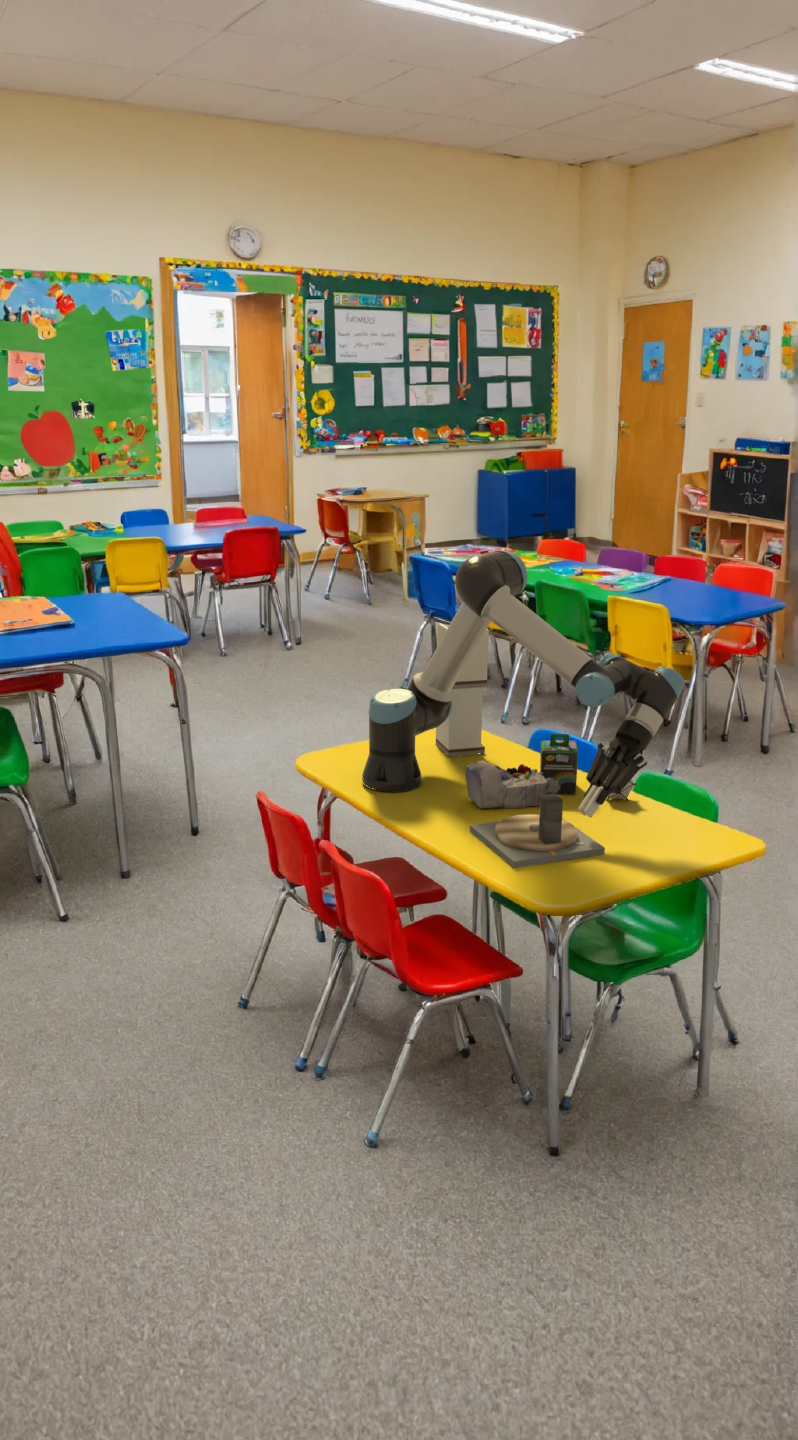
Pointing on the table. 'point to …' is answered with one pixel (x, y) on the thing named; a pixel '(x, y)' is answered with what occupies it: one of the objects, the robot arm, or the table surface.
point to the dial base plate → (525, 857)
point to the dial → (538, 828)
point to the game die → (622, 791)
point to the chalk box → (559, 764)
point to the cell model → (504, 785)
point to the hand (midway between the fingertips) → (584, 813)
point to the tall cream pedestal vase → (466, 704)
